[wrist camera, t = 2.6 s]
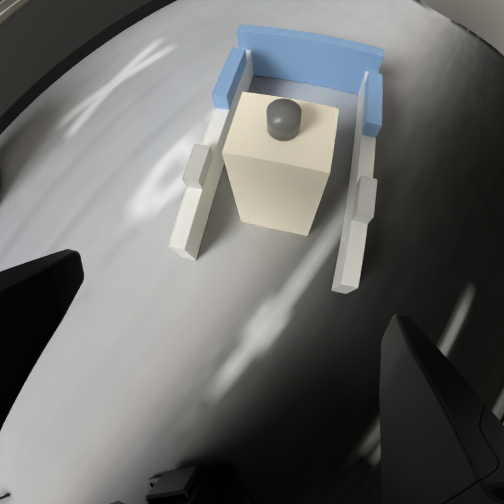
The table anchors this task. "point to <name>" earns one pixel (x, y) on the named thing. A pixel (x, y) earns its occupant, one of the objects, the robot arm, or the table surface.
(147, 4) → the thin dark grey tray
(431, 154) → the table surface
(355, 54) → the sled frame
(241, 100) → the beige drawer with knob
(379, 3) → the table surface
